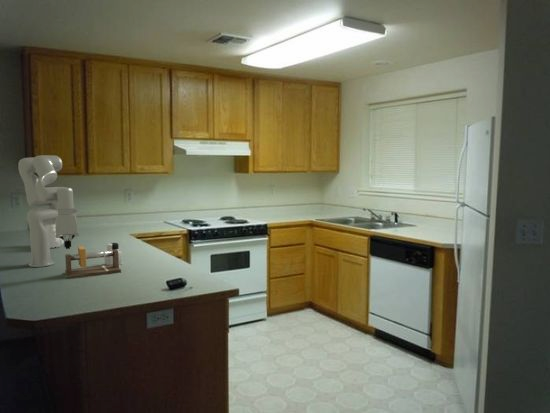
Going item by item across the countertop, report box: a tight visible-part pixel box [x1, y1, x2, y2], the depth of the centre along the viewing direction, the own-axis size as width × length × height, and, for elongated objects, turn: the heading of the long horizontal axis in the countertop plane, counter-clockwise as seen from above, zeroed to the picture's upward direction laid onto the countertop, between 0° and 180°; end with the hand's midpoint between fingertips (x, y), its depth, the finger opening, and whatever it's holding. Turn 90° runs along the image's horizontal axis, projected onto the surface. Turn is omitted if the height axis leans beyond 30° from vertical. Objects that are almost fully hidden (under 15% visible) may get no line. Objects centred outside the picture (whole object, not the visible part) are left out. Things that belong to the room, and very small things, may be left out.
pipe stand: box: [64, 250, 122, 280], centre depth 238 cm, size 15×25×11 cm, turn 120°
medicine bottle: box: [104, 242, 123, 266], centre depth 257 cm, size 7×7×12 cm
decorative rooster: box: [44, 224, 64, 249], centre depth 307 cm, size 25×16×25 cm, turn 21°
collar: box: [77, 246, 87, 268], centre depth 236 cm, size 9×2×9 cm, turn 30°
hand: (67, 248), depth 232 cm, fingers closed
